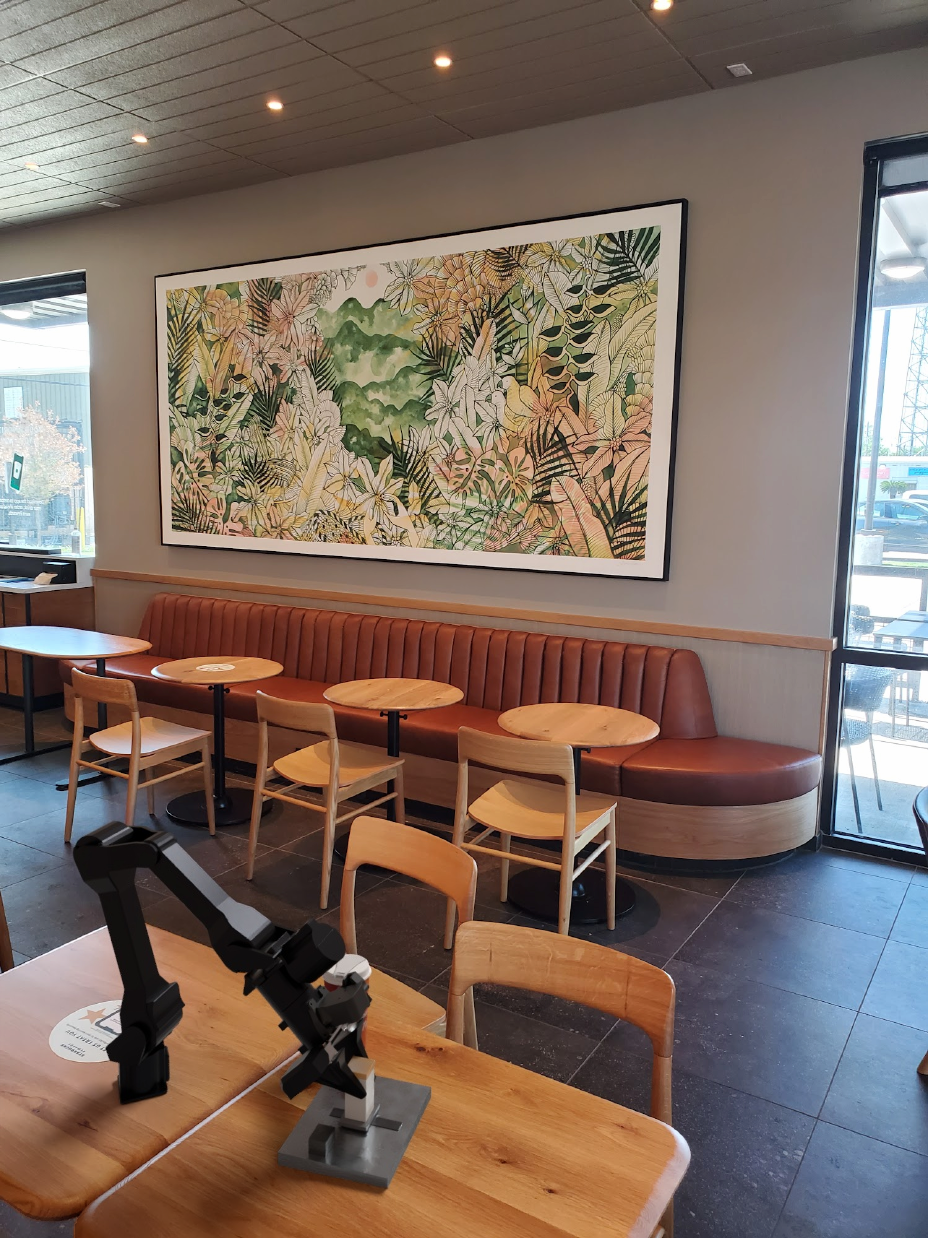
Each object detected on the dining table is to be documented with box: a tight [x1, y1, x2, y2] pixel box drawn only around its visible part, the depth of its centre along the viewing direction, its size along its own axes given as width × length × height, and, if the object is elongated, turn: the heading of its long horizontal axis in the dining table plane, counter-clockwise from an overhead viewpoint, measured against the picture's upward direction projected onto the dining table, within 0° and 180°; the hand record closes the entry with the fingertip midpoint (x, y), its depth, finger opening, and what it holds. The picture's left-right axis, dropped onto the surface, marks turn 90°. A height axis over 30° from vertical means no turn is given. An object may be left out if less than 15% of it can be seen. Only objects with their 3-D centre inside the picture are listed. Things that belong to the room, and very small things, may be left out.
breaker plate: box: [277, 1074, 432, 1189], centre depth 120 cm, size 15×18×4 cm
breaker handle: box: [338, 1056, 380, 1131], centre depth 119 cm, size 4×5×8 cm
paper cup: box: [321, 953, 372, 1049], centre depth 137 cm, size 8×8×14 cm
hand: (369, 1089), depth 119 cm, fingers closed on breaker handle, 3 cm apart
